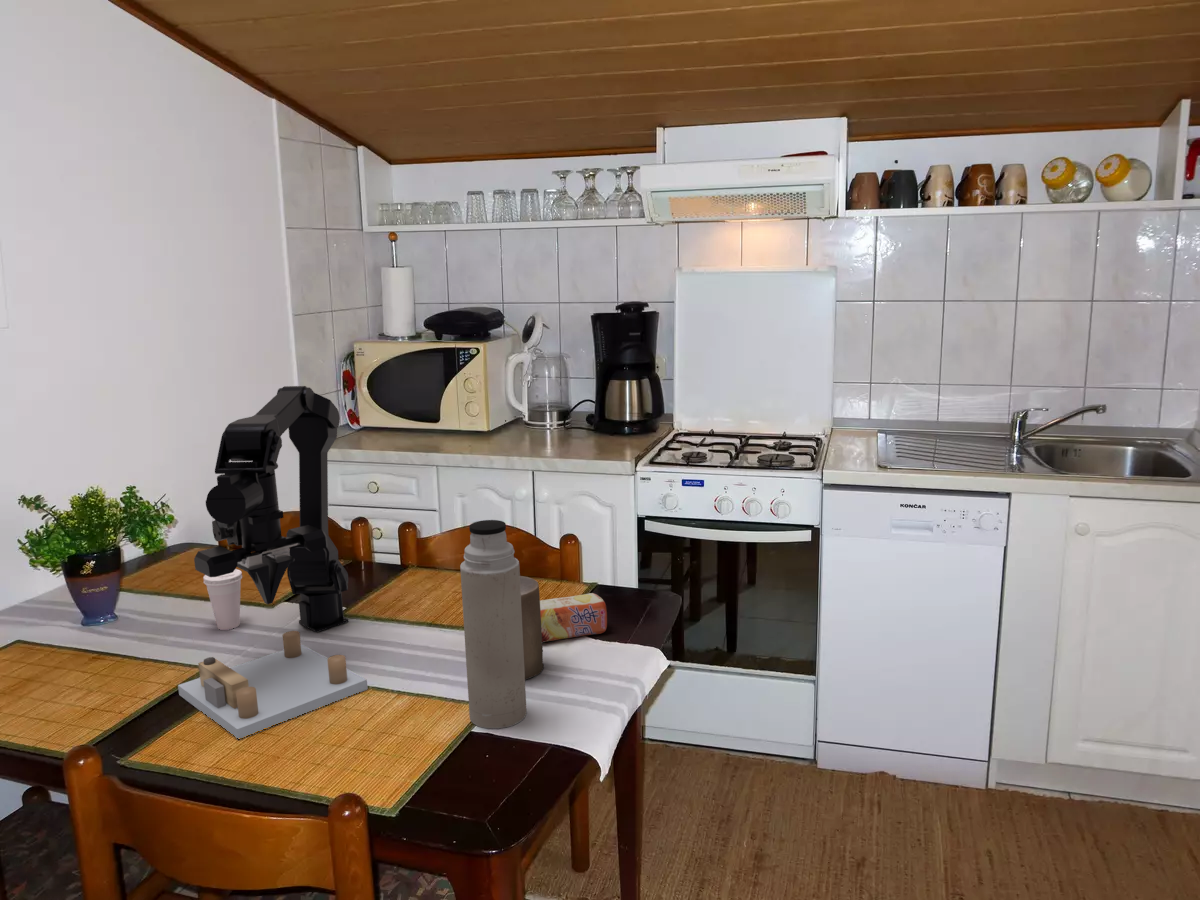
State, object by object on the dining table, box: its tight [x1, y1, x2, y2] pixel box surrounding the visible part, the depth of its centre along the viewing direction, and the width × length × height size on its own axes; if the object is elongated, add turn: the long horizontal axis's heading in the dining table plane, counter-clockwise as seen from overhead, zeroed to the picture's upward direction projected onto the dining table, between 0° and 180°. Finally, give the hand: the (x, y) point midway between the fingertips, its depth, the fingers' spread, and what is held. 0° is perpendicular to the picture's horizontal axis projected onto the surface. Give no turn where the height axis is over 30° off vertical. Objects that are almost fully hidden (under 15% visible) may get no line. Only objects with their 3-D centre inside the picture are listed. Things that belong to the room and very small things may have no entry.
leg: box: [198, 656, 249, 708], centre depth 137 cm, size 11×2×4 cm, turn 45°
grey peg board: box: [177, 630, 368, 740], centre depth 140 cm, size 20×20×5 cm
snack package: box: [540, 592, 608, 643], centre depth 157 cm, size 21×7×7 cm, turn 110°
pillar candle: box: [520, 575, 545, 680], centre depth 145 cm, size 10×10×15 cm
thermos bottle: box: [459, 519, 527, 730], centre depth 129 cm, size 8×8×28 cm
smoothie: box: [203, 568, 243, 631], centre depth 166 cm, size 6×6×14 cm
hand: (268, 603), depth 144 cm, fingers closed
